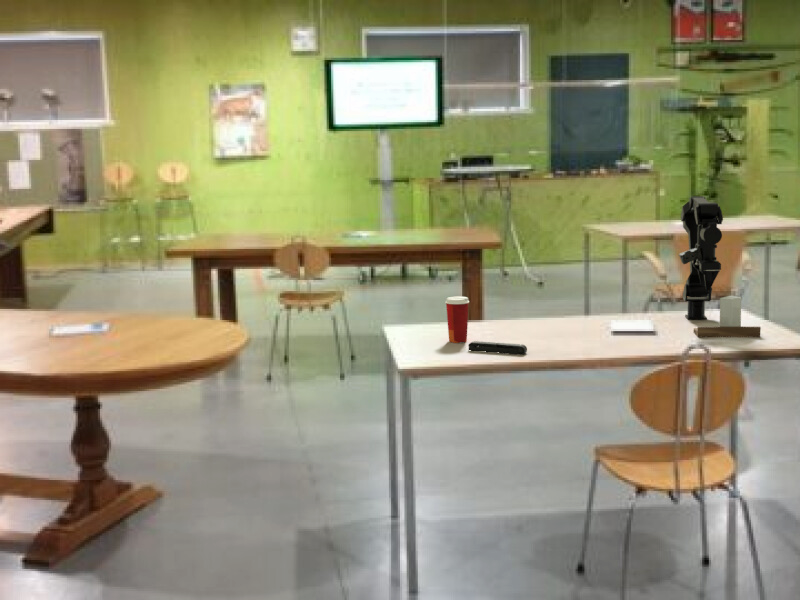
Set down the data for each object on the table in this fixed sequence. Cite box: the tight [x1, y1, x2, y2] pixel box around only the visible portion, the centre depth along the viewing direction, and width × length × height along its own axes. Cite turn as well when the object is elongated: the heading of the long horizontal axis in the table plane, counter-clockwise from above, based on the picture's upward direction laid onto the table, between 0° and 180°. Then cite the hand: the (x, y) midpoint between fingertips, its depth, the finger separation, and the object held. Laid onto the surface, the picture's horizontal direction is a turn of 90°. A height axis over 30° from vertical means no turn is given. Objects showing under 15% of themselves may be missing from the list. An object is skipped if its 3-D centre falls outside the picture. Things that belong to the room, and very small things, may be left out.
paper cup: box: [444, 295, 470, 344], centre depth 318 cm, size 8×8×14 cm
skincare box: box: [719, 295, 742, 327], centre depth 318 cm, size 6×4×12 cm
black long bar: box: [468, 340, 528, 356], centre depth 302 cm, size 18×3×3 cm, turn 66°
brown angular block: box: [693, 326, 761, 338], centre depth 318 cm, size 8×19×3 cm, turn 83°
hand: (705, 288), depth 330 cm, fingers open, 9 cm apart
